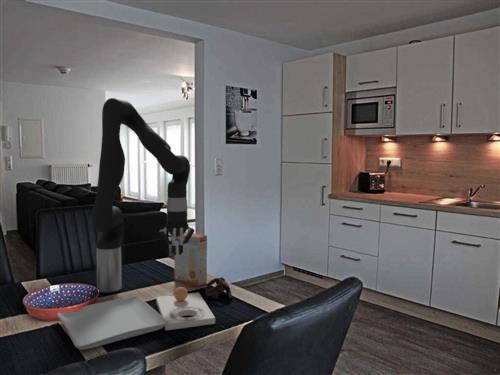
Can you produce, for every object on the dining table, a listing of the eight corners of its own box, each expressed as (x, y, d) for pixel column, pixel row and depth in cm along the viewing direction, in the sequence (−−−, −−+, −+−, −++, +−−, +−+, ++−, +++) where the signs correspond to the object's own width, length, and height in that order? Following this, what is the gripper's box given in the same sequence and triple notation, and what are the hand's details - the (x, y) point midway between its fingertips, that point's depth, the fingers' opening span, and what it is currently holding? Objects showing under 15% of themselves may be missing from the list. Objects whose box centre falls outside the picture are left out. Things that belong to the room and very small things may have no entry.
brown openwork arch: (232, 303, 150) (222, 286, 148) (210, 311, 152) (199, 294, 150) (235, 284, 161) (225, 268, 159) (215, 292, 163) (205, 277, 161)
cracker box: (207, 283, 169) (207, 234, 167) (197, 287, 165) (197, 237, 163) (183, 276, 178) (183, 230, 176) (173, 280, 173) (173, 232, 171)
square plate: (56, 322, 130) (55, 311, 130) (137, 304, 146) (137, 294, 146) (76, 358, 108) (76, 344, 108) (169, 332, 124) (169, 320, 124)
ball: (175, 303, 141) (175, 290, 141) (172, 298, 146) (172, 285, 146) (188, 302, 143) (189, 288, 143) (186, 297, 148) (186, 284, 147)
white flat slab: (165, 330, 125) (165, 324, 125) (156, 302, 148) (156, 297, 147) (215, 323, 131) (215, 317, 130) (198, 297, 153) (198, 292, 153)
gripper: (193, 207, 155) (192, 251, 156) (157, 208, 150) (157, 253, 152) (197, 210, 148) (197, 255, 149) (159, 211, 143) (160, 258, 145)
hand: (177, 254), depth 150 cm, fingers closed
